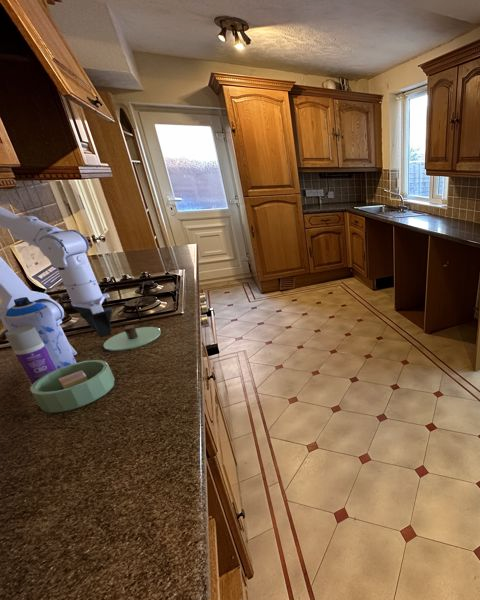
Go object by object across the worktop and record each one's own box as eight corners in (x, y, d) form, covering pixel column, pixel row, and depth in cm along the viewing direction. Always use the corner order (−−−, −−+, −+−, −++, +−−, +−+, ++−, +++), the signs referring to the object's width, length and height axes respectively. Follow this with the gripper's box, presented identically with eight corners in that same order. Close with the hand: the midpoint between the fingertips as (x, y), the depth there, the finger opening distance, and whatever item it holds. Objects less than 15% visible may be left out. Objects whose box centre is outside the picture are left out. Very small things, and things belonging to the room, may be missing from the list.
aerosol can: (67, 359, 87) (33, 291, 80) (85, 364, 85) (51, 294, 77) (28, 376, 81) (-13, 303, 73) (46, 382, 78) (5, 307, 70)
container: (45, 392, 74) (14, 336, 69) (30, 390, 75) (-3, 334, 69) (68, 380, 79) (40, 326, 73) (53, 378, 80) (24, 324, 74)
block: (65, 393, 74) (58, 378, 72) (88, 384, 77) (81, 370, 75) (69, 399, 71) (62, 385, 70) (93, 390, 74) (86, 376, 73)
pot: (35, 397, 73) (25, 379, 71) (106, 370, 82) (98, 354, 80) (47, 421, 66) (36, 402, 64) (122, 388, 75) (114, 371, 73)
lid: (98, 343, 95) (92, 329, 93) (152, 326, 105) (147, 313, 103) (113, 358, 88) (106, 343, 86) (169, 337, 98) (164, 324, 96)
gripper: (110, 283, 77) (129, 333, 82) (93, 272, 85) (112, 318, 90) (70, 292, 72) (93, 344, 77) (57, 279, 80) (79, 328, 85)
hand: (101, 331), depth 83 cm, fingers open, 7 cm apart
